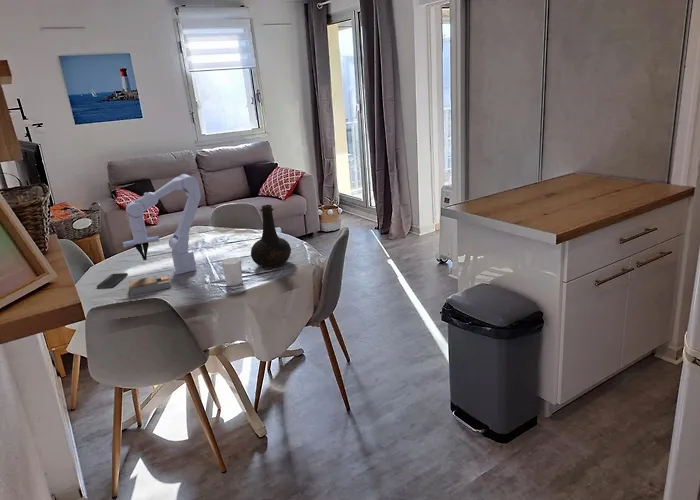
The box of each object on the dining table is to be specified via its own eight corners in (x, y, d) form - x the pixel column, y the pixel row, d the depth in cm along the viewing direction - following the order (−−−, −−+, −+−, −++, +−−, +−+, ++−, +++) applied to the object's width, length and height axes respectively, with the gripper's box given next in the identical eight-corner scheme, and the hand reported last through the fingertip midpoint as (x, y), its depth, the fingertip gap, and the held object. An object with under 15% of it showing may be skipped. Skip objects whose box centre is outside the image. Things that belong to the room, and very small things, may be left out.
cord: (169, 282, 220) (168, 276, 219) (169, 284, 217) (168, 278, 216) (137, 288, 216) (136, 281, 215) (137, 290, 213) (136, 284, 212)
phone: (95, 286, 219) (111, 273, 233) (96, 289, 219) (112, 276, 233) (113, 286, 218) (128, 272, 232) (114, 288, 219) (129, 275, 233)
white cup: (221, 283, 215) (217, 261, 212) (237, 277, 220) (233, 256, 217) (231, 288, 209) (227, 265, 206) (247, 282, 215) (244, 260, 211)
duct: (169, 280, 222) (168, 275, 221) (170, 287, 215) (169, 281, 214) (130, 288, 216) (129, 283, 215) (130, 295, 209) (129, 289, 208)
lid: (156, 277, 219) (155, 275, 219) (157, 283, 212) (156, 281, 212) (128, 282, 215) (128, 281, 215) (129, 289, 209) (128, 287, 208)
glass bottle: (245, 269, 229) (236, 209, 219) (267, 256, 244) (260, 199, 234) (278, 274, 221) (270, 212, 212) (299, 260, 236) (293, 201, 227)
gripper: (155, 224, 223) (161, 253, 228) (120, 230, 218) (127, 260, 223) (156, 228, 217) (162, 258, 222) (120, 234, 212) (127, 265, 217)
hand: (145, 259), depth 222 cm, fingers closed
